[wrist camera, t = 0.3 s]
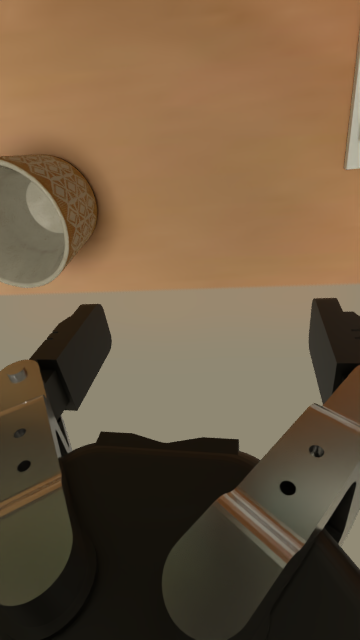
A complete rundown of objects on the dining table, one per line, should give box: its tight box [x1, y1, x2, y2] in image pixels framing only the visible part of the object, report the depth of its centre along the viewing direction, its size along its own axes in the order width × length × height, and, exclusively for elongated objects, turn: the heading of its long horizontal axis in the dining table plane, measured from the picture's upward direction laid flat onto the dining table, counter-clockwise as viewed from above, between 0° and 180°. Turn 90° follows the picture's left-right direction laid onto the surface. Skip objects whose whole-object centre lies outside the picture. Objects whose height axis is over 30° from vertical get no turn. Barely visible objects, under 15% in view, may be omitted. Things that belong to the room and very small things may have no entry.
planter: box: [0, 155, 97, 288], centre depth 37 cm, size 13×13×10 cm
